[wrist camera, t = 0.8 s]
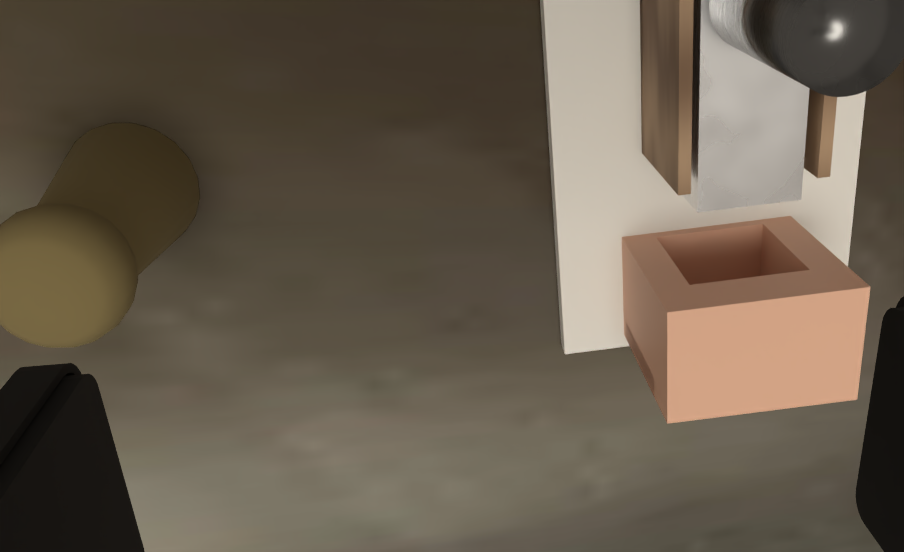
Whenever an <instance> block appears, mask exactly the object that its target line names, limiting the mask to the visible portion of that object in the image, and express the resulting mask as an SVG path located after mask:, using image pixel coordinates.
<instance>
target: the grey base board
mask: <svg viewBox="0 0 904 552" xmlns="http://www.w3.org/2000/svg"><path fill="white" fill-rule="evenodd" d="M540 10H541V26H542V42H543V58H544V74H545V90H546V106H547V122H548V138H549V154H550V171H551V187H552V203H553V219H554V235H555V251H556V267H557V283H558V299H559V315H560V331H561V345H562V348H563V350H564V353H565V354H570V353H578V352H586V351H594V350H602V349H610V348H618V347H625V346H629V344H628V342H627V340H626V337H625V335H624V312H623V271H622V237H626V236H633V235H641V234H649V233H657V232H665V231H673V230H681V229H689V228H697V227H705V226H713V225H721V224H729V223H737V222H745V221H753V220H761V219H769V218H777V217H785V216H791V217H792V218H794V219H795V220H796V221H797V222H798V223H799V224H800V225H801V226H803V227H804V228H805V229H806V230H807V231H808V232H809V233H810V234H812V235H813V236H814V237H815V238H816V239H817V240H818V241H819V242H821V243H822V244H823V245H824V246H825V247H826V248H827V249H828V250H829V251H831V252H832V253H833V254H834V255H835V256H836V257H837V258H838V259H840V260H841V261H842V262H843V263H844V264H845V265H846V266H847V267H848V260H849V250H850V240H851V231H852V221H853V211H854V202H855V192H856V182H857V173H858V163H859V153H860V144H861V134H862V124H863V115H864V105H865V95H866V91H865V92H863V93H860V94H856V95H853V96H847V97H837V106H836V117H835V128H834V139H833V151H832V162H831V173H830V177H823V178H817V177H815V176H814V175H813V174H811V173H810V172H809V171H807V170H806V169H805V168H804V170H803V183H802V197H801V200H795V201H787V202H779V203H771V204H763V205H755V206H747V207H739V208H731V209H723V210H715V211H707V212H699V213H697V212H696V211H695V209H694V208H693V207H692V206H691V205H690V204H689V202H688V201H687V200H686V199H685V198H684V197H683V195H679V196H678V195H677V194H676V192H675V191H674V190H673V189H672V188H671V187H670V185H669V184H668V183H667V182H666V181H665V180H664V178H663V177H662V176H661V175H660V174H659V172H658V171H657V170H656V169H655V168H654V167H653V165H652V164H651V163H650V162H649V161H648V160H647V158H646V157H645V156H644V155H643V154H642V134H641V57H640V0H540Z"/></svg>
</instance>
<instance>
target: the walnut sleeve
mask: <svg viewBox="0 0 904 552" xmlns="http://www.w3.org/2000/svg"><path fill="white" fill-rule="evenodd" d="M693 3H694V0H640V57H641V134H642V154H643V155H644V156H645V157H646V158H647V160H648V161H649V162H650V163H651V164H652V165H653V167H654V168H655V169H656V170H657V171H658V172H659V174H660V175H661V176H662V177H663V178H664V180H665V181H666V182H667V183H668V184H669V185H670V187H671V188H672V189H673V190H674V191H675V192H676V194H677V195H678V196H679V195H687V194H691V149H692V76H693ZM836 106H837V97H831V96H826V95H823V94H820V93H817V92H815V91H814V90H812V89H809V102H808V116H807V129H806V143H805V156H804V168H805V169H806V170H807V171H809V172H810V173H811V174H813V175H814V176H815V177H817V178H823V177H830V173H831V162H832V151H833V139H834V128H835V117H836Z"/></svg>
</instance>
